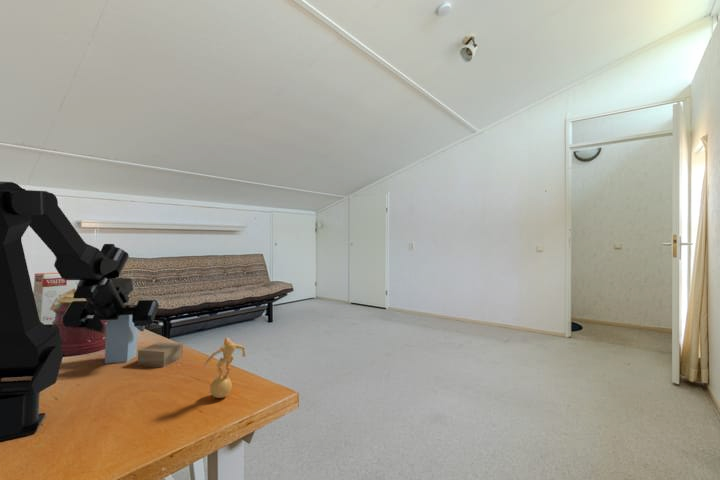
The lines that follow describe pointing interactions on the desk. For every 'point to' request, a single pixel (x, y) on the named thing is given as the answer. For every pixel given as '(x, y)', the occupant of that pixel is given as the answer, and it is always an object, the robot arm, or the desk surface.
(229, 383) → the figurine
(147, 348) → the beige block
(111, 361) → the blue pillar
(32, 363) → the robot arm
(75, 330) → the canister
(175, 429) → the desk surface
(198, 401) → the desk surface
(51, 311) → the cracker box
